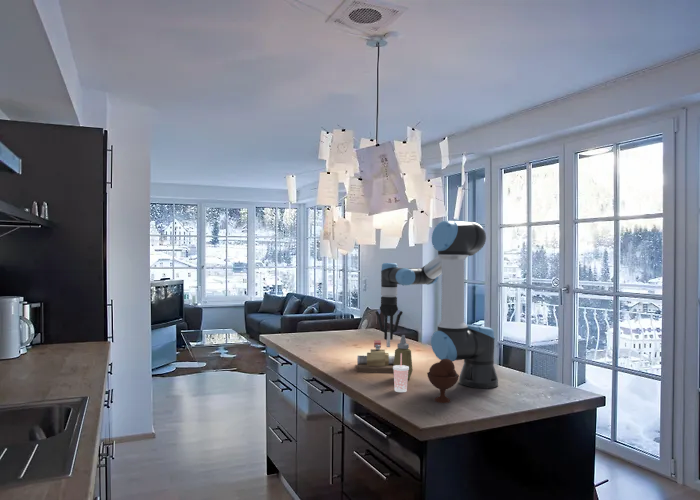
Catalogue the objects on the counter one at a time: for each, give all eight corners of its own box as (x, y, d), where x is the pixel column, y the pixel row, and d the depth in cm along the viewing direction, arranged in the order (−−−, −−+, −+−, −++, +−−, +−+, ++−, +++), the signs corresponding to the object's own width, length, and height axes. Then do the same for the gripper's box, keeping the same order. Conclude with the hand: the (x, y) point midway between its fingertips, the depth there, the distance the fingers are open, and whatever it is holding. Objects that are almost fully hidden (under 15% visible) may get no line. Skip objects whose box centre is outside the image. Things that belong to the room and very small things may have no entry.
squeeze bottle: (396, 381, 207) (397, 337, 207) (390, 376, 215) (390, 333, 215) (415, 380, 209) (416, 336, 209) (408, 375, 217) (408, 333, 217)
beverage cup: (408, 393, 191) (408, 355, 191) (391, 392, 192) (392, 354, 192) (409, 388, 197) (409, 352, 197) (393, 387, 198) (393, 351, 198)
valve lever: (381, 350, 228) (381, 345, 228) (374, 350, 228) (374, 345, 228) (380, 344, 242) (380, 340, 242) (374, 344, 243) (374, 339, 243)
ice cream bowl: (453, 396, 188) (454, 355, 188) (461, 405, 176) (462, 361, 176) (424, 396, 187) (425, 355, 187) (430, 405, 176) (431, 361, 176)
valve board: (398, 372, 222) (398, 354, 222) (357, 371, 223) (357, 353, 223) (396, 365, 236) (397, 348, 236) (357, 364, 237) (357, 347, 237)
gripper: (402, 295, 243) (401, 345, 243) (374, 295, 243) (373, 345, 243) (404, 297, 236) (403, 348, 236) (375, 296, 236) (374, 348, 236)
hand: (388, 346), depth 239 cm, fingers closed
